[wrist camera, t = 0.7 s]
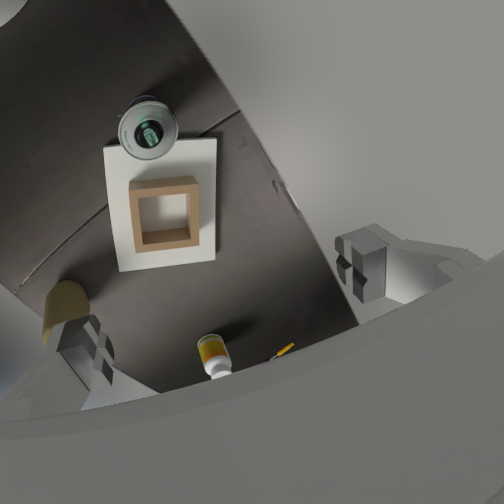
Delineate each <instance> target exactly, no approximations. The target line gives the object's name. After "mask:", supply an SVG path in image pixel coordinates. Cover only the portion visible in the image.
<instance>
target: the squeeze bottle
mask: <svg viewBox="0 0 504 504" xmlns="http://www.w3.org/2000/svg"><path fill="white" fill-rule="evenodd" d="M89 312H90V305H89V301H88V298H87V296H86V293H85V290H84V289H83V287H82V286H81V285H80V284H78V283H77V282H75V281H72V280H63V281H61V282H59V283H58V284H57V285H56V286H55V287H54V288H53V289H52V290H51V291H50V292H49V294H48V295H47V296H46V302H45V311H44V320H43V332H42V340H43V342H44V344H45V346H47V343H48V340H49V337H50V334H51V332H52V329H53V326H54V325H56V324H59V323H62V322H65V321H69V320H73V319H76V318H80V317H84V316H87V315H89Z"/></svg>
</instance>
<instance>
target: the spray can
mask: <svg viewBox="0 0 504 504" xmlns="http://www.w3.org/2000/svg"><path fill="white" fill-rule="evenodd" d="M118 135H119V140H120V143H121V145H122V147H123V149H124V150H125V152H126V153H127V154H128V155H130V156H131V157H133V158H135V159H137V160H142V161H152V160H156V159H159V158H161V157H163V156H164V155H166V154H167V153H168V152H169V151H170V150H171V149H172V148H173V146H174V144H175V142H176V140H177V137H178V122H177V119H176V116H175V115H174V113H173V112H172V111H171V109H170V108H168V107H167V106H166V105H165V104H164V103H162V102H161V101H160V100H159V99H157V98H156V97H154V96H150V95H143V96H140V97H137V98H136V99H134V100H133V101H132V102H131V103H130V104H129V106H128V108H127V110H126V112H125V114H124V116H123V118H122V120H121V122H120V125H119V131H118Z"/></svg>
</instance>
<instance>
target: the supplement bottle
mask: <svg viewBox="0 0 504 504" xmlns="http://www.w3.org/2000/svg"><path fill="white" fill-rule="evenodd" d="M198 349H199V352H200V355H201V358H202V362H203V365H204V368H205V371H206V372H207V373H208V374H209V375H211V378H212V379H216V378H219V377H222V376H225V375H228V374H232V372H231V369H230V368H231V365H232V364H231V360H230V357H229V355H228V352H227V350H226V347H225V344H224V342H223V340H222V338H221V337H220V336H219V335H217V334H208V335H205V336H203V337H202V338H201V339H200V340H199V342H198Z"/></svg>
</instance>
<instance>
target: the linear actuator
mask: <svg viewBox="0 0 504 504" xmlns="http://www.w3.org/2000/svg"><path fill="white" fill-rule="evenodd" d="M293 345H294V344H293V342H292V343H291V344H289V345H287V346H286V347H284V348H283V349H282V350H280V351H278V352H277V355H279V356H280V355H282V354H283V353H284V352H285V351H287V350H288V349H289V348H291V346H293ZM277 355H275V356H274V357H276V356H277ZM274 357H273V358H274ZM273 358H271V359H273ZM271 359H267V360H266V361H264V362H263V363H265V362H268V361H270V360H271ZM261 364H262V363H261Z"/></svg>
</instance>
